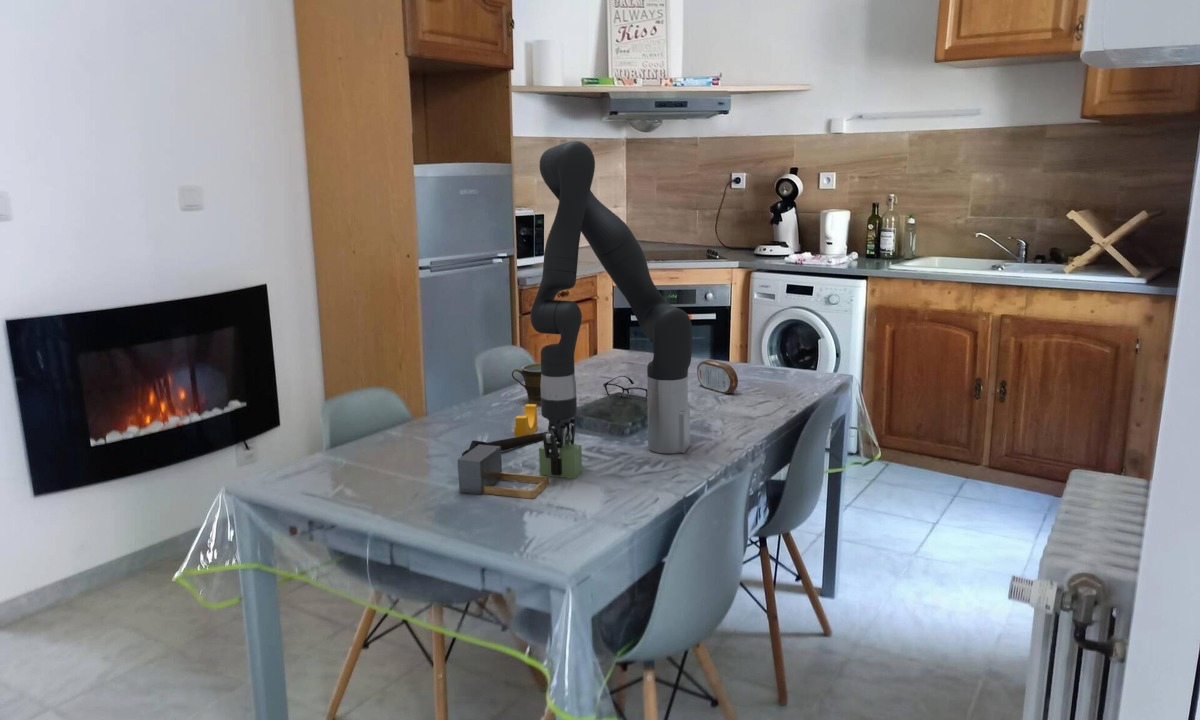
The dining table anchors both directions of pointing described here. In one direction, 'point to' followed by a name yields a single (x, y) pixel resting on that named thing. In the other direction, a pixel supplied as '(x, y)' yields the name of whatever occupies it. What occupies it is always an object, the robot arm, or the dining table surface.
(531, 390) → the ceramic cup
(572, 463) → the sage green upright block
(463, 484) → the grey block with frame
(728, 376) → the tin
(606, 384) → the eyeglasses
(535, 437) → the wrench
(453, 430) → the dining table surface
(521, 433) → the pipe clamp
